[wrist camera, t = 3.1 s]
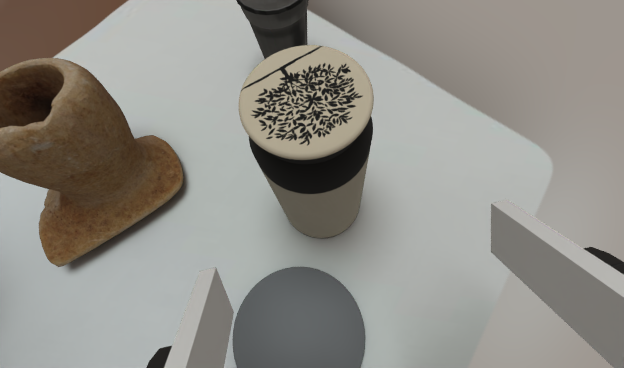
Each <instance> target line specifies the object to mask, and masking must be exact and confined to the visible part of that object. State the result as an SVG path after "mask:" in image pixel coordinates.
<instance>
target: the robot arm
mask: <svg viewBox="0 0 624 368" xmlns="http://www.w3.org/2000/svg"><path fill="white" fill-rule="evenodd" d="M491 252H492V253H493V254H494V255H495V256H496V257H497V258H498V259H499V260H500V261H501V262H502V263H503V264H504V265H505V266H506V267H507V268H509V269H510V270H511V271H512V272H513V273H514V274H515V275H516V276H517V277H518V278H519V279H520V280H521V281H522V282H523V283H524V284H526V285H527V286H528V287H529V288H530V289H531V290H532V291H533V292H534V293H535V294H536V295H537V296H538V297H539V298H540V299H542V301H544V302H545V303H546V304H547V305H548V306H549V307H550V308H551V309H552V310H553V311H554V312H555V313H556V314H557V315H558V316H560V317H561V318H562V319H563V320H564V321H565V322H566V323H567V324H568V325H569V326H570V327H571V328H572V329H573V330H574V331H575V332H576V333H578V334H579V335H580V336H581V337H582V338H583V339H584V340H585V341H586V342H587V343H588V344H589V345H590V346H591V347H592V348H593V349H595V350H596V351H597V352H598V353H599V354H600V355H601V356H602V357H603V358H604V359H605V360H606V361H607V362H608V363H610V365H612V366H613V367H614V368H624V262H622V261H621V260H619V259H617V258H616V257H614V256H612V255H611V254H609V253H606V252H604V251H601V250H598V249H596V248H593V247H589V248H584V249H583V248H581V247H580V246H578V245H577V244H575V243H574V242H572V241H571V240H569V239H567V238H566V237H564V236H563V235H561V234H560V233H558V232H557V231H555V230H554V229H552V228H550V227H549V226H547V225H546V224H544V223H542V222H541V221H539V220H538V219H536V218H535V217H533V216H532V215H530V214H529V213H527V212H526V211H524V210H523V209H521V208H519V207H518V206H516V205H515V204H513V203H512V202H510V201H509V200H503V201H499V202H495V203H491ZM233 313H234V312H233V309H232V307H231V304H230V301H229V299H228V296H227V294H226V291H225V289H224V286H223V284H222V281H221V279H220V276H219V274H218V271H217V269H216V267H215V268H211V269H207V270H202V271H200V272H199V275H198V277H197V280H196V283H195V285H194V288H193V291H192V294H191V296H190V299H189V302H188V304H187V307H186V310H185V312H184V315H183V318H182V321H181V323H180V326H179V329H178V331H177V334H176V337H175V340H174V342H173V345H172V346H169V347H164V348H160V349H159V350H158V351H157V352H156V354H155V355H154V356H153V357H152V359H151V360H150V361H149V363H148V365H147V368H224V363H225V358H226V352H227V346H228V341H229V335H230V330H231V324H232V319H233Z"/></svg>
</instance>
